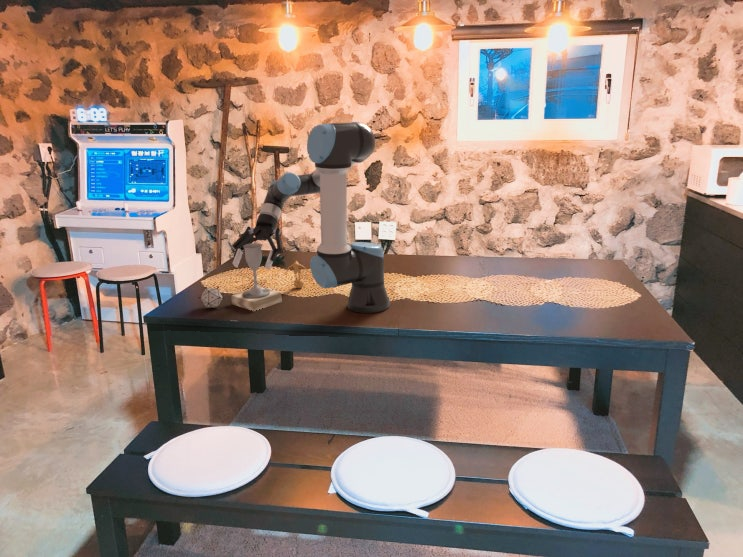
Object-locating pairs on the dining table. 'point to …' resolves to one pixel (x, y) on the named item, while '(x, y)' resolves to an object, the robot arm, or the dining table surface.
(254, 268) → the chalice
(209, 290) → the game die
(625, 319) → the dining table surface
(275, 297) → the pedestal
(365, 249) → the robot arm
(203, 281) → the dining table surface
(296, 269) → the figurine
